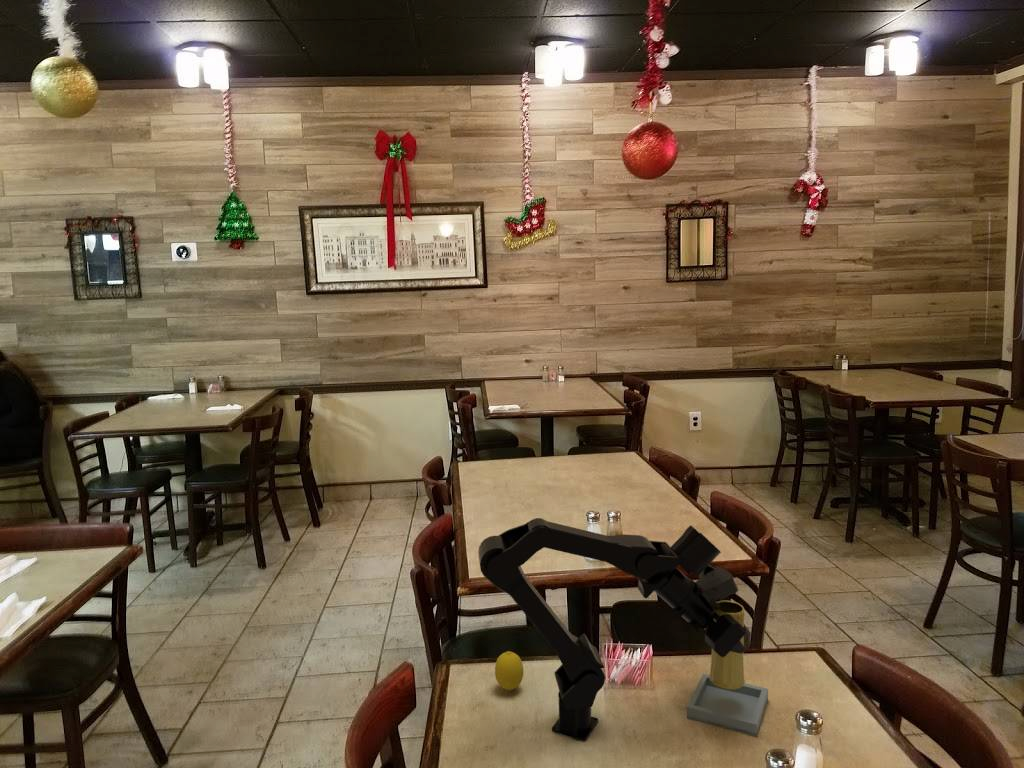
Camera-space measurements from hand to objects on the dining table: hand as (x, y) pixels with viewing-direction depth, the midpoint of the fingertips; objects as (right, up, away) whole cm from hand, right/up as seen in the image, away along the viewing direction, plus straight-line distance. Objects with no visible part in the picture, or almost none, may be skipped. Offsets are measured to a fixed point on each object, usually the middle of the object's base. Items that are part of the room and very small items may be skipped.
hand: (734, 643), depth 126 cm
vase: (-1, -7, +1) cm, 7 cm away
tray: (-1, -13, +1) cm, 13 cm away
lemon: (-41, -13, +10) cm, 44 cm away
